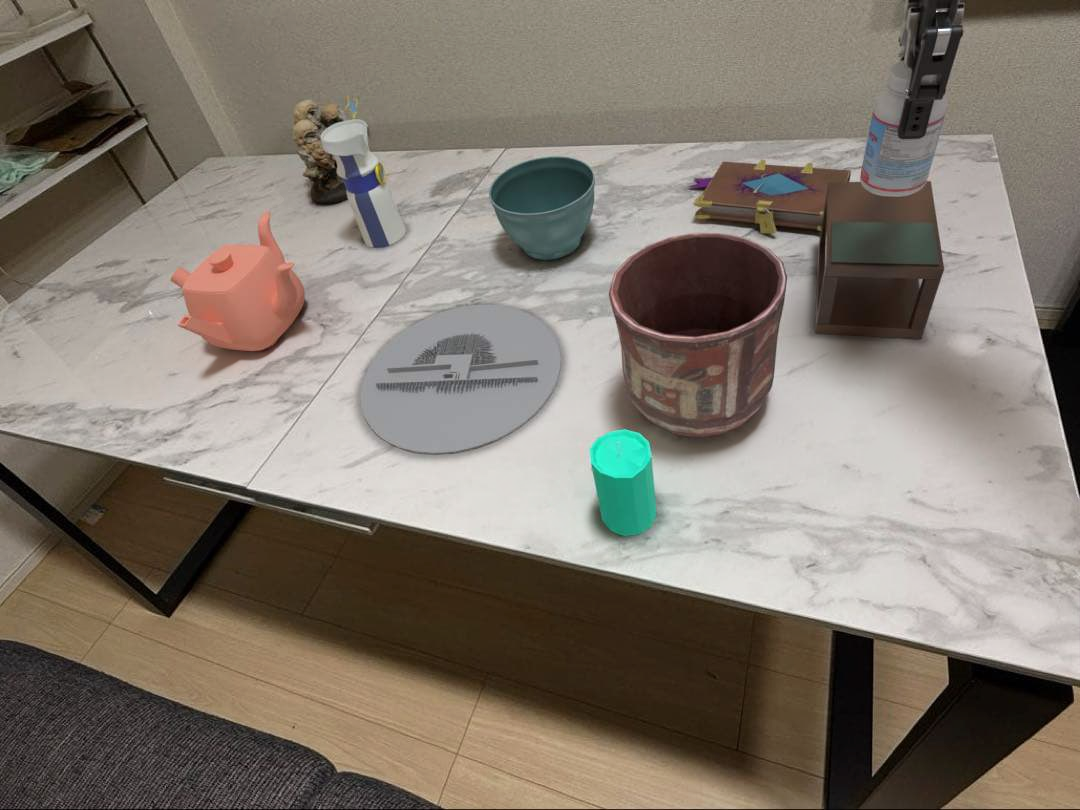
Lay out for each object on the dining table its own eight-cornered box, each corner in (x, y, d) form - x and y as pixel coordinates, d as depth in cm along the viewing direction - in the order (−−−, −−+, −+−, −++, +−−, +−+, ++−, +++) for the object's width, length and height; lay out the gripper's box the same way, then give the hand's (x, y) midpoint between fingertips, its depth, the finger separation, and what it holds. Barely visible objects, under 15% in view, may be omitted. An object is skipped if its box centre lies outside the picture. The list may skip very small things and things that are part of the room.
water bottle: (411, 217, 121) (360, 77, 103) (404, 244, 116) (349, 101, 98) (368, 224, 123) (311, 86, 104) (359, 251, 117) (296, 110, 99)
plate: (333, 454, 85) (329, 448, 84) (393, 310, 103) (391, 304, 102) (546, 454, 79) (544, 448, 78) (571, 301, 97) (570, 295, 96)
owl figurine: (350, 208, 128) (312, 122, 115) (298, 209, 131) (256, 125, 119) (386, 160, 139) (355, 76, 127) (338, 162, 143) (303, 81, 130)
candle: (596, 532, 71) (581, 465, 62) (605, 486, 74) (593, 416, 66) (653, 539, 69) (646, 470, 60) (660, 491, 73) (654, 420, 64)
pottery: (629, 349, 88) (617, 234, 75) (769, 347, 84) (781, 225, 71) (617, 456, 77) (600, 342, 64) (778, 460, 73) (795, 339, 60)
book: (697, 177, 115) (697, 149, 111) (851, 189, 105) (856, 159, 101) (665, 226, 105) (664, 197, 102) (830, 245, 95) (836, 213, 92)
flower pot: (618, 221, 109) (611, 159, 101) (576, 282, 100) (565, 219, 92) (532, 210, 116) (520, 152, 108) (486, 266, 107) (469, 206, 99)
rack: (911, 250, 91) (931, 179, 84) (921, 339, 80) (945, 267, 73) (818, 248, 95) (828, 180, 87) (815, 333, 84) (826, 264, 76)
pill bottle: (866, 164, 70) (888, 52, 62) (931, 170, 67) (963, 54, 59) (852, 195, 67) (873, 82, 59) (919, 203, 64) (951, 85, 56)
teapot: (304, 275, 115) (266, 204, 105) (331, 331, 103) (291, 257, 93) (202, 320, 111) (152, 251, 101) (217, 384, 99) (163, 313, 89)
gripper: (1035, -76, 45) (962, 158, 57) (1000, -130, 53) (944, 82, 66) (910, -61, 47) (866, 160, 59) (896, -116, 56) (860, 87, 68)
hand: (907, 118), depth 62 cm, fingers closed on pill bottle, 6 cm apart
